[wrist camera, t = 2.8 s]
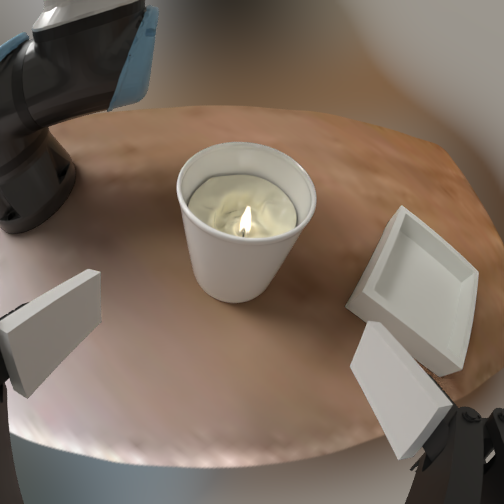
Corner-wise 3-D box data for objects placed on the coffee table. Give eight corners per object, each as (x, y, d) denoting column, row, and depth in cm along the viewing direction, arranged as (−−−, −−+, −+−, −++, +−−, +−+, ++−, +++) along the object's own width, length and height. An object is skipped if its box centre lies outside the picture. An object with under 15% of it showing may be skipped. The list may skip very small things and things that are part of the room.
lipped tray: (344, 306, 28) (362, 291, 24) (387, 222, 36) (401, 205, 32) (439, 377, 24) (462, 369, 21) (461, 284, 32) (478, 271, 29)
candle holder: (297, 284, 28) (343, 210, 18) (213, 328, 25) (218, 267, 15) (248, 217, 32) (267, 132, 22) (171, 248, 28) (157, 161, 18)
